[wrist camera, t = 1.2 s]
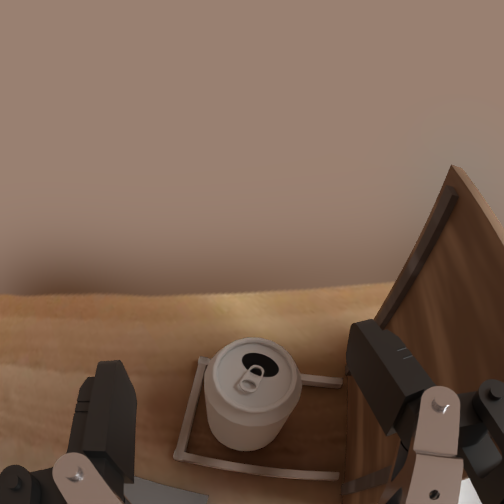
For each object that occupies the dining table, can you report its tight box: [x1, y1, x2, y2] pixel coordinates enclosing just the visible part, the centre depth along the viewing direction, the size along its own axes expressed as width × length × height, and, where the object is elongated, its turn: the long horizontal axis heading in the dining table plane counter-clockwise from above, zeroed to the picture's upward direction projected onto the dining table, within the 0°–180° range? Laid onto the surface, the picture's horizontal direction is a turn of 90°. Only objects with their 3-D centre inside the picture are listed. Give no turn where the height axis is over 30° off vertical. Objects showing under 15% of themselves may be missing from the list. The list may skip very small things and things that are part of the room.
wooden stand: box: [173, 165, 504, 504], centre depth 21 cm, size 18×18×26 cm
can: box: [204, 337, 302, 451], centre depth 26 cm, size 8×8×12 cm
